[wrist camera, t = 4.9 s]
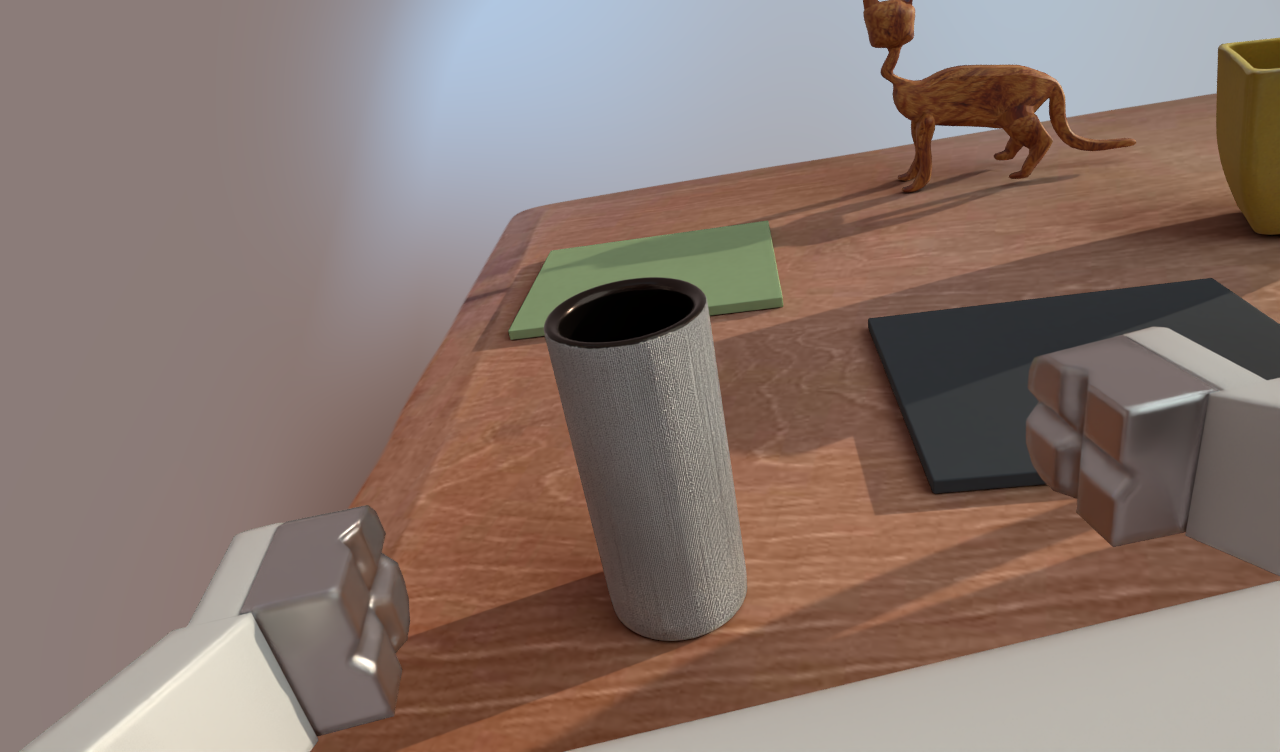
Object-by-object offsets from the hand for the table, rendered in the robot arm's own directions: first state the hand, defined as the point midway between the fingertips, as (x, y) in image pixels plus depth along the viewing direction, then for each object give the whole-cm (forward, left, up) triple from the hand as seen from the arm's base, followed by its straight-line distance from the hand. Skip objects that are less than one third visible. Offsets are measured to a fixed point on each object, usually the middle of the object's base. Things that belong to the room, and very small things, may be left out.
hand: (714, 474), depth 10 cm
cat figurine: (+19, +53, -13) cm, 58 cm away
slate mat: (+14, +23, -13) cm, 30 cm away
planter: (-3, +12, -13) cm, 18 cm away
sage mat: (-6, +41, -13) cm, 43 cm away
